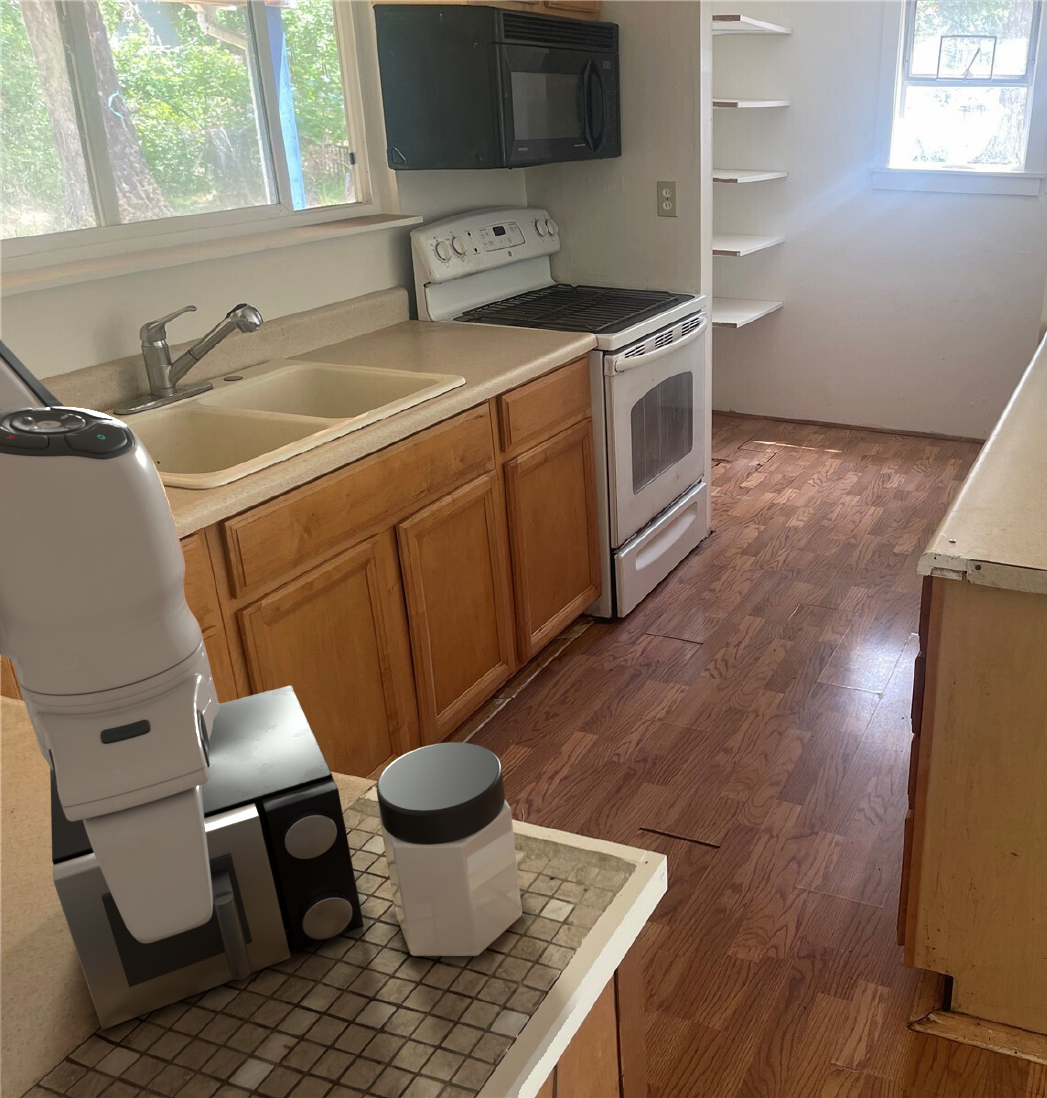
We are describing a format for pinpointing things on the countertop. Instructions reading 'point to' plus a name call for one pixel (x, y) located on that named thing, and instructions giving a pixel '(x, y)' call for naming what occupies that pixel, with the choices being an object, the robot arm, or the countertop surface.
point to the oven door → (186, 958)
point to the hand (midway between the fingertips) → (181, 899)
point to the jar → (449, 848)
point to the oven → (271, 812)
